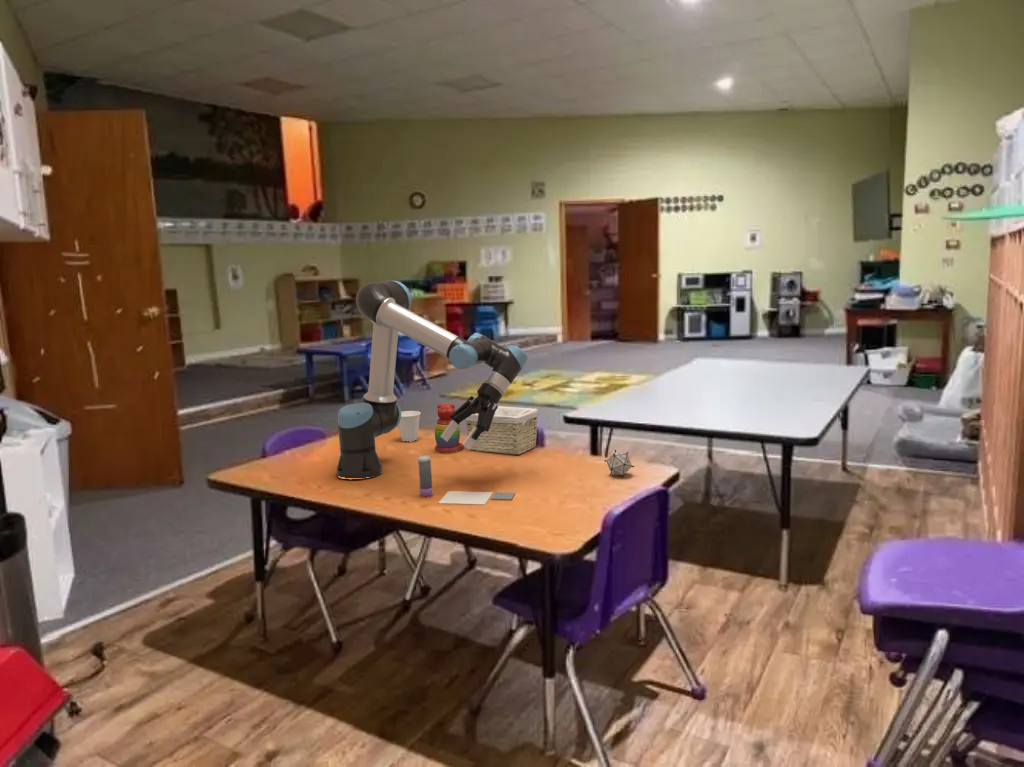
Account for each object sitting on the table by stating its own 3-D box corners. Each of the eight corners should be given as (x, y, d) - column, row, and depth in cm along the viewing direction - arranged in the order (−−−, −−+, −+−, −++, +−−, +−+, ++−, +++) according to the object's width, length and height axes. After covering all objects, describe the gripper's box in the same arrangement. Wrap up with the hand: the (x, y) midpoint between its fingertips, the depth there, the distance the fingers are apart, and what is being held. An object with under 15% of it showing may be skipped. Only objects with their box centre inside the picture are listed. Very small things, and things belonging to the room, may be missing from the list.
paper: (438, 503, 220) (438, 502, 220) (448, 491, 231) (448, 491, 231) (484, 504, 218) (484, 504, 218) (493, 492, 228) (492, 492, 228)
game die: (625, 486, 242) (644, 462, 239) (610, 483, 235) (630, 459, 233) (608, 467, 247) (627, 444, 245) (594, 464, 241) (612, 440, 238)
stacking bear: (464, 446, 285) (462, 400, 282) (460, 453, 275) (457, 406, 272) (436, 447, 286) (434, 401, 283) (431, 454, 276) (428, 406, 273)
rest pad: (491, 499, 222) (491, 498, 222) (495, 493, 228) (495, 492, 228) (511, 500, 221) (511, 499, 221) (515, 493, 226) (515, 492, 226)
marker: (418, 496, 227) (416, 458, 225) (422, 492, 231) (420, 455, 229) (430, 497, 227) (428, 458, 225) (434, 493, 230) (431, 455, 228)
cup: (393, 443, 294) (391, 416, 292) (401, 437, 304) (399, 410, 302) (418, 443, 292) (416, 416, 291) (425, 437, 302) (423, 410, 300)
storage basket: (464, 450, 279) (462, 412, 277) (487, 440, 293) (485, 403, 291) (519, 457, 267) (517, 417, 265) (541, 446, 281) (539, 408, 278)
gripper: (522, 401, 229) (483, 457, 224) (480, 391, 250) (443, 442, 244) (507, 386, 226) (467, 443, 220) (465, 377, 246) (427, 429, 240)
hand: (454, 443), depth 232 cm, fingers open, 13 cm apart
